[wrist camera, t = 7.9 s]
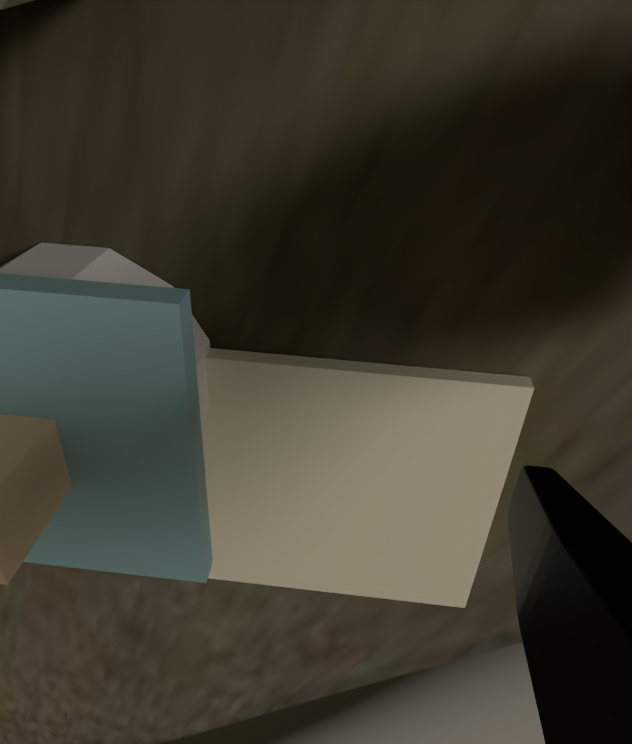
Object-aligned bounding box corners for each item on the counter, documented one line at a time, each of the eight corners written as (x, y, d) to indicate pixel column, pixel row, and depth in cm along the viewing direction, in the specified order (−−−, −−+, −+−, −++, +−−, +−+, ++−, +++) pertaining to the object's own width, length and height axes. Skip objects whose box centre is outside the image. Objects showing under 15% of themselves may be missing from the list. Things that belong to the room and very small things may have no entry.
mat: (529, 376, 22) (534, 387, 21) (463, 594, 29) (464, 607, 29) (186, 345, 23) (180, 355, 22) (207, 565, 30) (203, 577, 30)
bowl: (204, 255, 21) (159, 315, 16) (217, 457, 26) (186, 541, 22) (-51, 235, 21) (-158, 287, 17) (14, 437, 27) (-55, 514, 22)
